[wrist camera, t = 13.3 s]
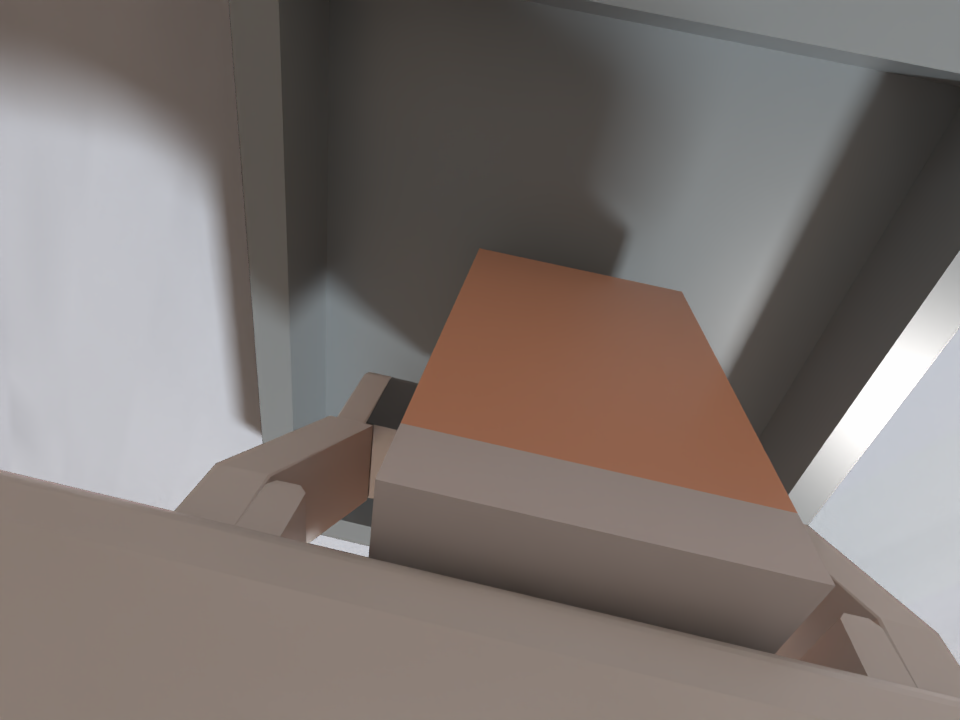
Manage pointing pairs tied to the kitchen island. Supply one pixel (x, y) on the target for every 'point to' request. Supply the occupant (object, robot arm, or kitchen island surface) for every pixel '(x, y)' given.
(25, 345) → the kitchen island surface
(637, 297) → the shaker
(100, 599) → the robot arm
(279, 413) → the tray
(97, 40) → the kitchen island surface
